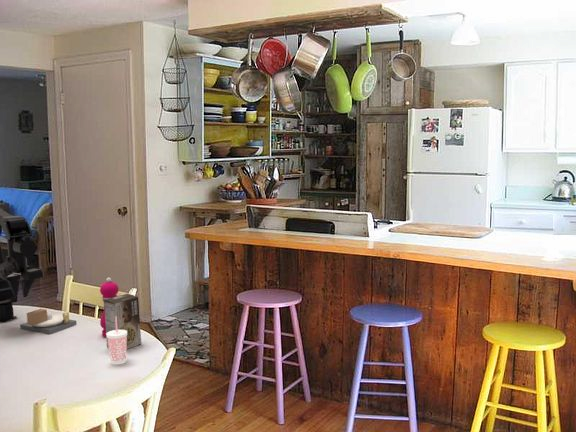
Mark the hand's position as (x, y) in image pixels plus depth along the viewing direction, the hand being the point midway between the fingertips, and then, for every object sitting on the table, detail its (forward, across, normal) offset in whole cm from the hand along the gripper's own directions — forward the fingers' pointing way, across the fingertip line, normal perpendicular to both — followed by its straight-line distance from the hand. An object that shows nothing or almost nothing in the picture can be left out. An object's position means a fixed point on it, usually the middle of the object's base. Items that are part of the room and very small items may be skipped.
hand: (20, 296), depth 213 cm
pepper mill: (+12, +34, +9) cm, 37 cm away
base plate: (+12, +6, +6) cm, 15 cm away
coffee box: (+12, +46, +2) cm, 47 cm away
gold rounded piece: (+10, +12, +8) cm, 18 cm away
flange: (+10, +6, +5) cm, 13 cm away
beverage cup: (+12, +54, -9) cm, 56 cm away
